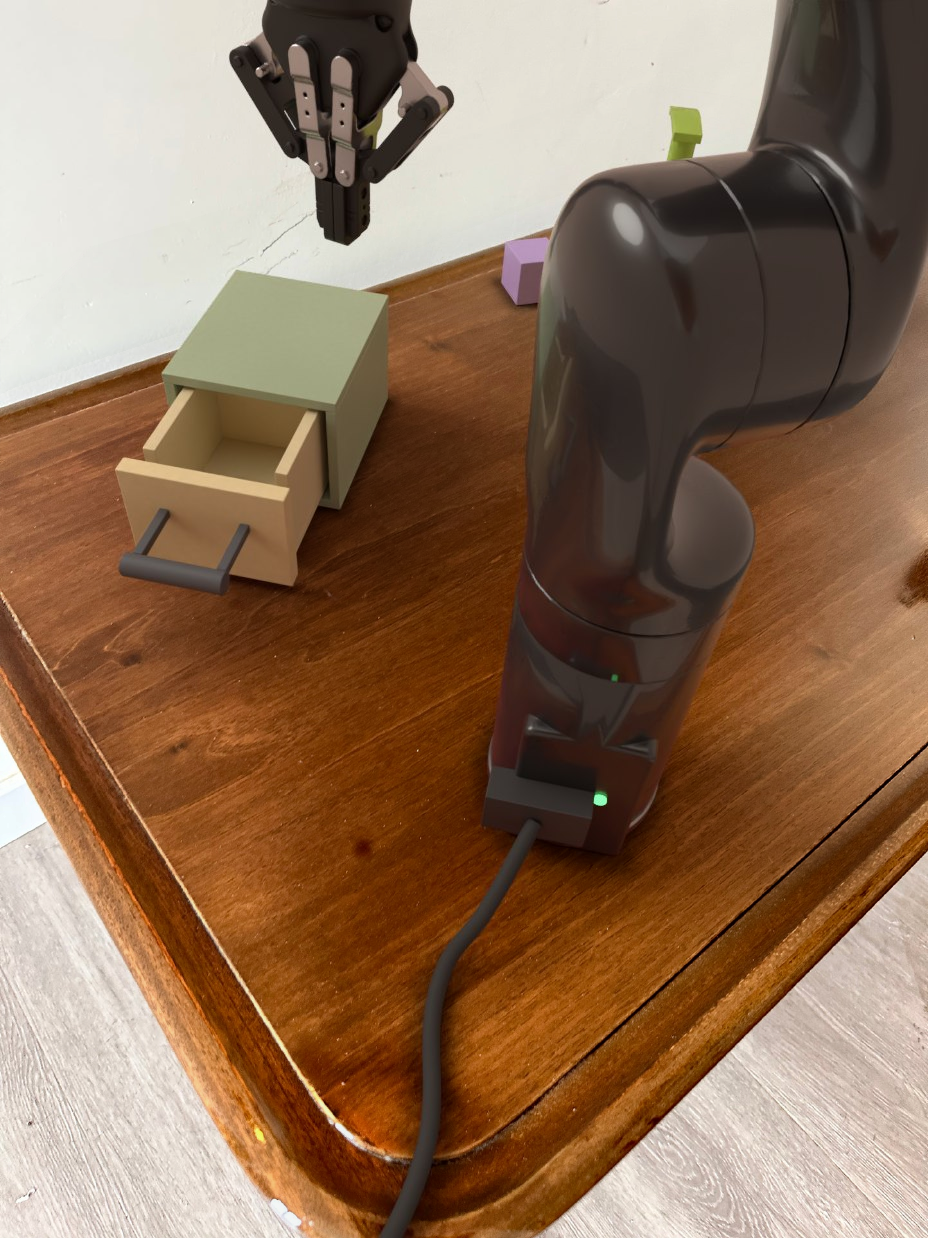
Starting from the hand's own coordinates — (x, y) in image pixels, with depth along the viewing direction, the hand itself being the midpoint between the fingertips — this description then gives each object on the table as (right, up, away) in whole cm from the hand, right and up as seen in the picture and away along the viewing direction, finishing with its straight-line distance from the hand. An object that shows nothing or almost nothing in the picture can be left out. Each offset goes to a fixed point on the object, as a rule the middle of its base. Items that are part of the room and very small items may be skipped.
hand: (344, 237), depth 57 cm
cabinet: (-6, -9, +14) cm, 18 cm away
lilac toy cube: (+13, +7, +30) cm, 33 cm away
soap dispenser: (+21, -2, +22) cm, 31 cm away
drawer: (-8, -17, +6) cm, 20 cm away
